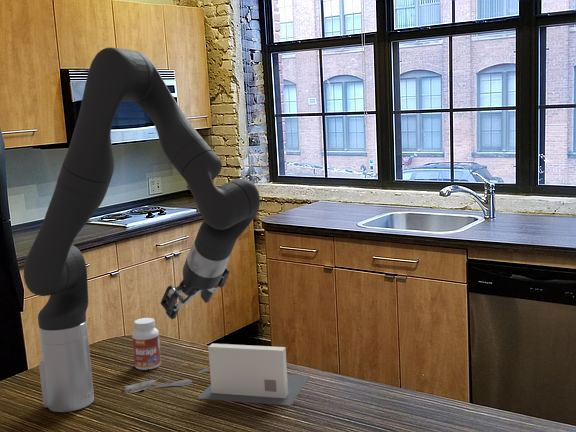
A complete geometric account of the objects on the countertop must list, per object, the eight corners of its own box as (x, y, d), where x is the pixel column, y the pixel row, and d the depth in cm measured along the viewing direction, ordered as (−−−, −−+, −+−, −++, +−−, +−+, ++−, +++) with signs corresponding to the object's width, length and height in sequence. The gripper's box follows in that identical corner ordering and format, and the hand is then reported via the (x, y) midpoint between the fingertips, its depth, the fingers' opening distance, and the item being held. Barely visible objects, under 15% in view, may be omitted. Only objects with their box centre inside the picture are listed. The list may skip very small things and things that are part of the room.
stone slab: (208, 365, 154) (207, 380, 144) (209, 373, 154) (208, 388, 144) (128, 374, 153) (122, 389, 143) (129, 382, 153) (122, 398, 143)
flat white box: (211, 393, 139) (208, 346, 138) (215, 388, 141) (212, 343, 140) (285, 398, 135) (282, 350, 133) (288, 393, 137) (285, 346, 135)
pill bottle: (134, 372, 155) (129, 325, 153) (135, 362, 161) (131, 318, 159) (161, 368, 156) (157, 323, 154) (161, 359, 162) (157, 315, 160)
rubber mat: (197, 401, 137) (196, 398, 137) (224, 373, 151) (224, 370, 151) (290, 408, 131) (290, 405, 131) (310, 378, 146) (310, 375, 146)
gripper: (224, 234, 133) (204, 281, 144) (164, 259, 124) (148, 307, 135) (247, 261, 130) (225, 307, 141) (187, 289, 121) (169, 335, 132)
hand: (187, 307), depth 138 cm, fingers open, 8 cm apart
